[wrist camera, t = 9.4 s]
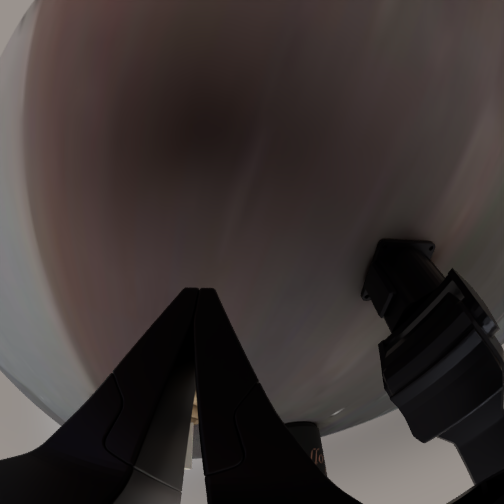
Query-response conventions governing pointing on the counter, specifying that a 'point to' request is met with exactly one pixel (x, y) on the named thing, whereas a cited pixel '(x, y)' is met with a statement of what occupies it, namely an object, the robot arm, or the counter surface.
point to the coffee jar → (309, 441)
